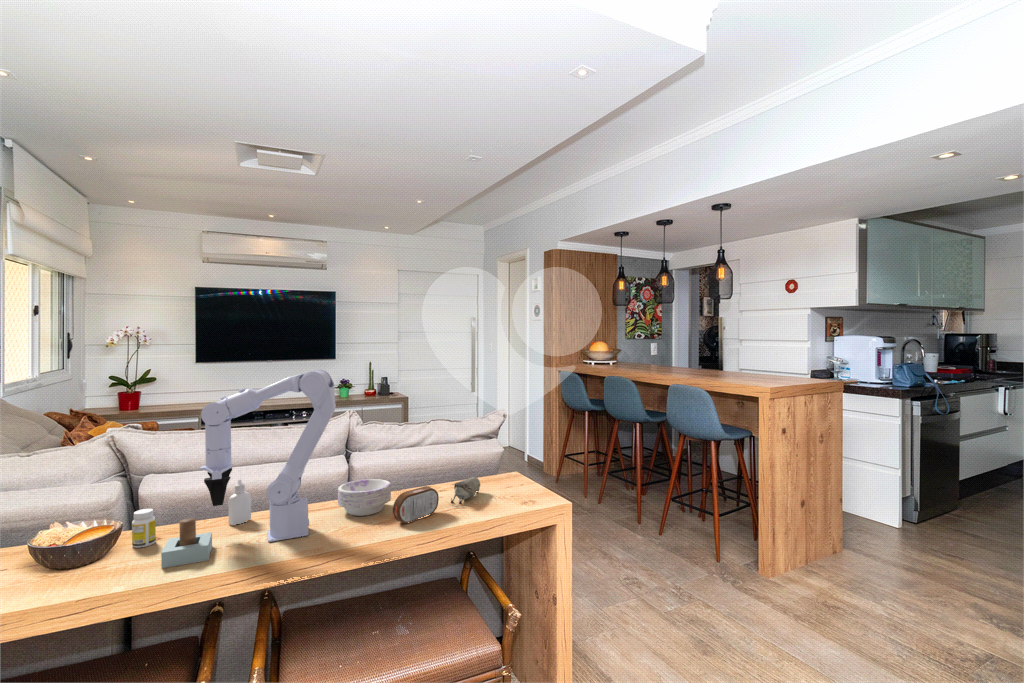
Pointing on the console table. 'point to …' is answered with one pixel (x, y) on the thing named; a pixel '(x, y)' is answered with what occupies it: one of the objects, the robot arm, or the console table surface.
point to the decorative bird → (466, 489)
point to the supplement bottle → (143, 528)
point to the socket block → (186, 551)
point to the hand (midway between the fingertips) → (219, 501)
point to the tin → (415, 504)
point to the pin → (187, 531)
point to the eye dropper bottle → (239, 505)
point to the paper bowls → (364, 496)
